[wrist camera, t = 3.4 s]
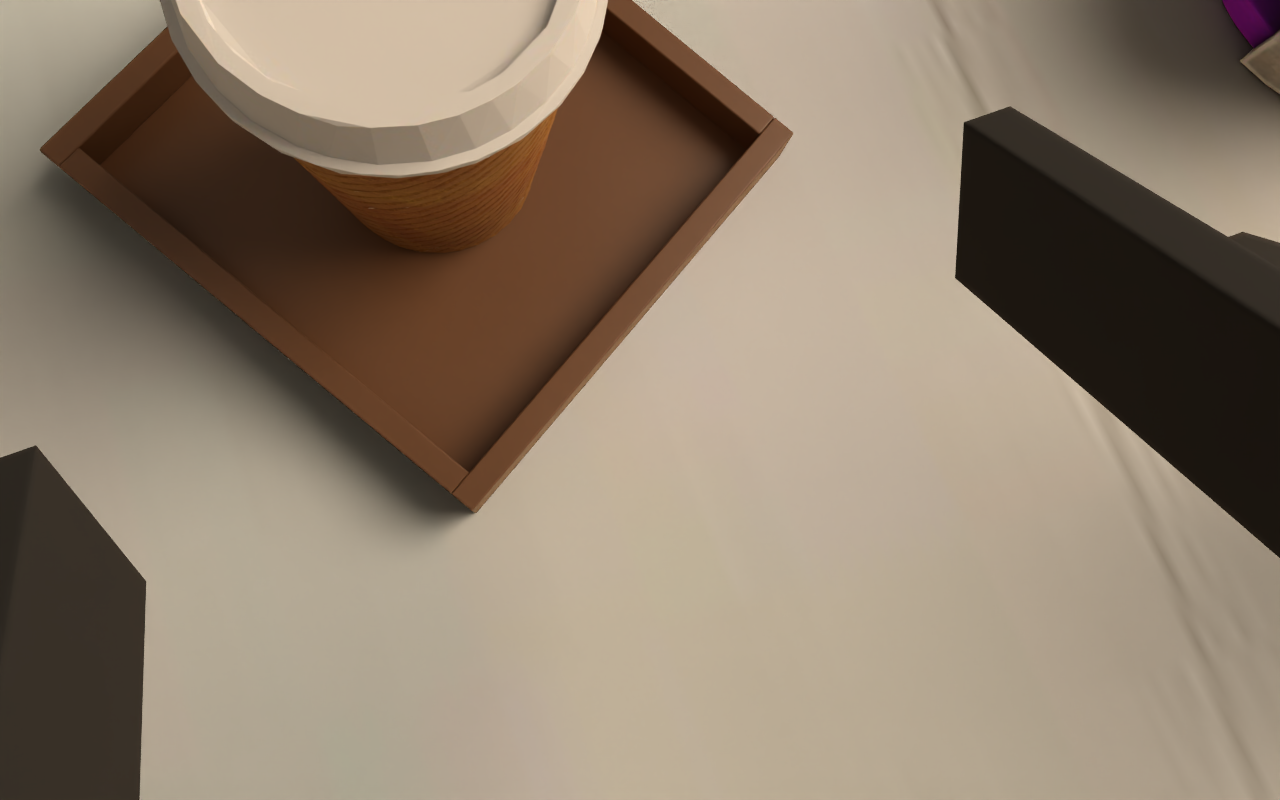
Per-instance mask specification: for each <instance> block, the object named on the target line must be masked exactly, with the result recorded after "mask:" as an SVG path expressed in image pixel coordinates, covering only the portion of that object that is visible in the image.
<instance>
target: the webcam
mask: <svg viewBox="0 0 1280 800" xmlns="http://www.w3.org/2000/svg"><path fill="white" fill-rule="evenodd" d="M1222 1H1223V3H1224V6H1225V8H1226V9H1227V11H1228V13H1229V15H1230V16H1231V18H1232V20H1233V22H1234V23H1235V25H1236V26H1237V27H1238V29H1239V30H1240V31H1241V33H1242V34H1243V35H1244V37H1245V38H1246V39H1247V41H1248V42H1249V43H1250V45H1251V46H1252V47H1253V48H1254V49H1253V50H1251V51H1250V52H1249V53H1248V54H1247V55H1246V56H1245V57H1244V58H1243V59H1241V60H1240V62H1241V63H1242V64H1244V65H1245V66H1246V67H1247V68H1248V69H1249V70H1250V71H1251V72H1252V73H1254V74H1255V75H1256V76H1257V77H1258V78H1259V79H1260V80H1261V81H1262V82H1264V83H1265V84H1266V85H1267V86H1269V87H1270V88H1272V89H1273V90H1275V91H1276V92H1278V93H1279V94H1280V0H1222Z"/></svg>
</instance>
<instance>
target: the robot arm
mask: <svg viewBox="0 0 1280 800" xmlns="http://www.w3.org/2000/svg"><path fill="white" fill-rule="evenodd" d="M955 278H956V279H957V280H958V281H959V282H961V283H962V284H963V285H964V286H965V287H966V288H968V289H969V290H970V291H971V292H972V293H973V294H974V295H976V296H977V297H978V298H979V299H980V300H981V301H983V302H984V303H985V304H986V305H987V306H988V307H990V308H991V309H992V310H993V311H994V312H995V313H996V314H998V315H999V316H1000V317H1001V318H1002V319H1003V320H1005V321H1006V322H1007V323H1008V324H1009V325H1010V326H1012V327H1013V328H1014V329H1015V330H1016V331H1017V332H1019V333H1020V334H1021V335H1022V336H1023V337H1024V338H1025V339H1027V340H1028V341H1029V342H1030V343H1031V344H1032V345H1034V346H1035V347H1036V348H1037V349H1038V350H1039V351H1041V352H1042V353H1043V354H1044V355H1045V356H1046V357H1047V358H1049V359H1050V360H1051V361H1052V362H1053V363H1054V364H1056V365H1057V366H1058V367H1059V368H1060V369H1061V370H1063V371H1064V372H1065V373H1066V374H1067V375H1068V376H1069V377H1071V378H1072V379H1073V380H1074V381H1075V382H1076V383H1078V384H1079V385H1080V386H1081V387H1082V388H1083V389H1085V390H1086V391H1087V392H1088V393H1089V394H1090V395H1092V396H1093V397H1094V398H1095V399H1096V400H1097V401H1098V402H1100V403H1101V404H1102V405H1103V406H1104V407H1105V408H1107V409H1108V410H1109V411H1110V412H1111V413H1112V414H1114V415H1115V416H1116V417H1117V418H1118V419H1119V420H1120V421H1122V422H1123V423H1124V424H1125V425H1126V426H1127V427H1129V428H1130V429H1131V430H1132V431H1133V432H1134V433H1136V434H1137V435H1138V436H1139V437H1140V438H1141V439H1143V440H1144V441H1145V442H1146V443H1147V444H1148V445H1149V446H1151V447H1152V448H1153V449H1154V450H1155V451H1156V452H1158V453H1159V454H1160V455H1161V456H1162V457H1163V458H1165V459H1166V460H1167V461H1168V462H1169V463H1170V464H1171V465H1173V466H1174V467H1175V468H1176V469H1177V470H1178V471H1180V472H1181V473H1182V474H1183V475H1184V476H1185V477H1187V478H1188V479H1189V480H1190V481H1191V482H1192V483H1193V484H1195V485H1196V486H1197V487H1198V488H1199V489H1200V490H1202V491H1203V492H1204V493H1205V494H1206V495H1207V496H1209V497H1210V498H1211V499H1212V500H1213V501H1214V502H1216V503H1217V504H1218V505H1219V506H1220V507H1221V508H1222V509H1224V510H1225V511H1226V512H1227V513H1228V514H1229V515H1231V516H1232V517H1233V518H1234V519H1235V520H1236V521H1238V522H1239V523H1240V524H1241V525H1242V526H1243V527H1244V528H1246V529H1247V530H1248V531H1249V532H1250V533H1251V534H1253V535H1254V536H1255V537H1256V538H1257V539H1258V540H1260V541H1261V542H1262V543H1263V544H1264V545H1265V546H1266V547H1268V548H1269V549H1270V550H1271V551H1272V552H1273V553H1275V554H1276V555H1277V556H1278V557H1279V558H1280V243H1278V242H1275V241H1271V240H1268V239H1265V238H1261V237H1258V236H1255V235H1251V234H1248V233H1245V232H1241V233H1238V234H1235V235H1233V236H1230V237H1227V236H1225V235H1224V234H1222V233H1220V232H1219V231H1217V230H1215V229H1214V228H1212V227H1210V226H1209V225H1207V224H1205V223H1204V222H1202V221H1200V220H1199V219H1197V218H1195V217H1194V216H1192V215H1190V214H1189V213H1187V212H1185V211H1184V210H1182V209H1180V208H1179V207H1177V206H1175V205H1174V204H1172V203H1170V202H1169V201H1167V200H1165V199H1164V198H1162V197H1160V196H1159V195H1157V194H1155V193H1154V192H1152V191H1150V190H1149V189H1147V188H1145V187H1144V186H1142V185H1140V184H1139V183H1137V182H1135V181H1134V180H1132V179H1130V178H1129V177H1127V176H1125V175H1124V174H1122V173H1120V172H1119V171H1117V170H1115V169H1114V168H1112V167H1110V166H1109V165H1107V164H1105V163H1104V162H1102V161H1100V160H1099V159H1097V158H1095V157H1094V156H1092V155H1090V154H1089V153H1087V152H1085V151H1084V150H1082V149H1080V148H1079V147H1077V146H1075V145H1074V144H1072V143H1070V142H1069V141H1067V140H1065V139H1064V138H1062V137H1060V136H1059V135H1057V134H1055V133H1054V132H1052V131H1050V130H1049V129H1047V128H1045V127H1044V126H1042V125H1040V124H1039V123H1037V122H1035V121H1034V120H1032V119H1030V118H1029V117H1027V116H1025V115H1024V114H1022V113H1020V112H1019V111H1017V110H1015V109H1014V108H1012V107H1007V108H1004V109H1001V110H998V111H995V112H993V113H990V114H987V115H984V116H981V117H978V118H975V119H972V120H970V121H967V122H964V132H963V149H962V167H961V185H960V203H959V220H958V238H957V256H956V274H955ZM145 601H146V581H145V579H144V578H143V577H142V576H141V575H140V573H139V572H138V571H137V570H136V568H135V567H134V566H133V565H132V563H131V562H130V561H129V560H128V558H127V557H126V556H125V555H124V554H123V552H122V551H121V550H120V549H119V547H118V546H117V545H116V544H115V542H114V541H113V540H112V539H111V537H110V536H109V535H108V534H107V533H106V531H105V530H104V529H103V528H102V526H101V525H100V524H99V523H98V521H97V520H96V519H95V518H94V516H93V515H92V514H91V513H90V512H89V510H88V509H87V508H86V507H85V505H84V504H83V503H82V502H81V500H80V499H79V498H78V497H77V495H76V494H75V493H74V492H73V490H72V489H71V488H70V487H69V486H68V484H67V483H66V482H65V481H64V479H63V478H62V477H61V476H60V474H59V473H58V472H57V471H56V469H55V468H54V467H53V466H52V465H51V463H50V462H49V461H48V460H47V458H46V457H45V456H44V455H43V453H42V452H41V451H40V450H39V448H38V447H37V446H33V447H30V448H27V449H24V450H22V451H19V452H16V453H13V454H10V455H7V456H4V457H1V458H0V800H139V795H140V763H141V730H142V698H143V666H144V633H145Z"/></svg>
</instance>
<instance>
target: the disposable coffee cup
mask: <svg viewBox="0 0 1280 800" xmlns="http://www.w3.org/2000/svg"><path fill="white" fill-rule="evenodd" d="M160 2H161V6H162V9H163V12H164V16H165V19H166V23H167V26H168V29H169V33H170V36H171V40H172V41H173V43H174V45H175V46H176V48H177V50H178V52H179V53H180V55H181V57H182V58H183V60H184V62H185V64H186V65H187V67H188V69H189V71H190V72H191V74H192V76H193V77H194V79H195V81H196V82H197V83H198V84H199V86H200V87H201V88H202V89H203V90H204V91H205V92H206V93H207V94H208V95H209V96H210V97H211V99H212V100H213V101H214V102H215V103H216V104H217V105H218V106H219V107H220V108H221V109H222V110H223V111H224V112H225V114H226V115H227V116H228V117H229V118H230V119H231V120H232V121H234V122H235V123H236V124H238V125H239V126H241V127H242V128H244V129H245V130H247V131H249V132H250V133H252V134H253V135H255V136H256V137H258V138H259V139H261V140H262V141H264V142H265V143H267V144H268V145H270V146H271V147H273V148H275V149H276V150H278V151H279V152H281V153H283V154H286V155H289V156H292V157H293V158H294V159H295V160H297V161H298V162H299V163H300V164H301V165H302V166H303V167H304V168H305V169H306V170H307V171H308V172H309V173H310V174H311V175H312V176H313V177H314V178H315V179H316V180H317V181H318V182H320V183H321V184H322V185H323V186H324V187H325V188H326V189H327V190H328V191H329V192H330V193H331V194H332V195H333V196H334V197H335V198H336V199H337V200H338V201H339V202H340V203H341V204H343V205H344V206H345V207H346V208H347V209H348V210H349V211H350V212H351V213H352V214H353V215H354V216H355V217H356V218H357V219H358V220H359V221H360V222H361V223H362V224H363V225H365V226H366V227H367V228H369V229H370V230H371V231H373V232H374V233H375V234H377V235H378V236H380V237H381V238H383V239H384V240H386V241H389V242H391V243H393V244H395V245H397V246H399V247H402V248H406V249H410V250H414V251H418V252H435V253H446V252H454V251H460V250H463V249H466V248H469V247H472V246H475V245H478V244H480V243H482V242H484V241H486V240H487V239H489V238H491V237H493V236H495V235H496V234H497V233H498V232H500V231H501V230H502V229H503V228H504V227H505V226H507V225H508V224H509V223H510V222H511V221H512V219H513V218H514V217H515V215H516V214H517V213H518V212H519V210H520V209H521V208H522V206H523V204H524V201H525V199H526V197H527V195H528V193H529V191H530V188H531V184H532V181H533V178H534V175H535V172H536V170H537V167H538V164H539V161H540V158H541V156H542V153H543V151H544V149H545V146H546V142H547V138H548V135H549V133H550V130H551V127H552V124H553V122H554V119H555V116H556V112H557V109H558V107H559V106H560V105H561V104H562V103H563V101H564V100H565V99H566V97H567V96H568V94H569V93H570V92H571V90H572V89H573V88H574V86H575V85H576V83H577V82H578V81H579V79H580V78H581V76H582V75H583V74H584V72H585V69H586V67H587V65H588V63H589V61H590V58H591V56H592V54H593V52H594V50H595V47H596V45H597V43H598V41H599V38H600V36H601V32H602V29H603V24H604V19H605V14H606V8H607V3H608V0H160Z"/></svg>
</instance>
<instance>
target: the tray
mask: <svg viewBox="0 0 1280 800" xmlns="http://www.w3.org/2000/svg"><path fill="white" fill-rule="evenodd" d="M773 118H774V117H773V116H772V115H771V114H769V113H768V112H767V111H766V110H765V109H763V108H762V107H761V106H760V105H759V104H757V103H756V102H755V101H754V100H752V99H751V98H750V97H749V96H748V95H746V94H745V93H744V92H743V91H741V90H740V89H739V88H738V87H737V86H735V85H734V84H733V83H732V82H730V81H729V80H728V79H727V78H726V77H724V76H723V75H722V74H721V73H720V72H718V71H717V70H716V69H715V68H713V67H712V66H711V65H710V64H709V63H707V62H706V61H705V60H704V59H702V58H701V57H700V56H699V55H698V54H696V53H695V52H694V51H693V50H692V49H690V48H689V47H688V46H687V45H685V44H684V43H683V42H682V41H681V40H679V39H678V38H677V37H676V36H674V35H673V34H672V33H671V32H670V31H668V30H667V29H666V28H665V27H664V26H662V25H661V24H660V23H659V22H657V21H656V20H655V19H654V18H653V17H651V16H650V15H649V14H648V13H646V12H645V11H644V10H643V9H642V8H640V7H639V6H638V5H637V4H636V3H634V2H633V1H632V0H608V3H607V8H606V14H605V19H604V24H603V29H602V32H601V36H600V38H599V41H598V43H597V45H596V47H595V50H594V52H593V54H592V56H591V58H590V61H589V63H588V65H587V67H586V69H585V72H584V74H583V75H582V76H581V78H580V79H579V81H578V82H577V83H576V85H575V86H574V88H573V89H572V90H571V92H570V93H569V94H568V96H567V97H566V99H565V100H564V101H563V103H562V104H561V105H560V106H559V107H558V109H557V112H556V116H555V119H554V122H553V124H552V127H551V130H550V133H549V135H548V138H547V142H546V146H545V149H544V151H543V153H542V156H541V158H540V161H539V164H538V167H537V170H536V172H535V175H534V178H533V181H532V184H531V188H530V191H529V193H528V195H527V197H526V199H525V201H524V204H523V206H522V208H521V209H520V210H519V212H518V213H517V214H516V215H515V217H514V218H513V219H512V221H511V222H510V223H509V224H508V225H507V226H505V227H504V228H503V229H502V230H501V231H500V232H498V233H497V234H496V235H495V236H493V237H491V238H489V239H487V240H486V241H484V242H482V243H480V244H478V245H475V246H472V247H469V248H466V249H463V250H460V251H454V252H446V253H435V252H418V251H414V250H410V249H406V248H402V247H399V246H397V245H395V244H393V243H391V242H389V241H386V240H384V239H383V238H381V237H380V236H378V235H377V234H375V233H374V232H373V231H371V230H370V229H369V228H367V227H366V226H365V225H363V224H362V223H361V222H360V221H359V220H358V219H357V218H356V217H355V216H354V215H353V214H352V213H351V212H350V211H349V210H348V209H347V208H346V207H345V206H344V205H343V204H341V203H340V202H339V201H338V200H337V199H336V198H335V197H334V196H333V195H332V194H331V193H330V192H329V191H328V190H327V189H326V188H325V187H324V186H323V185H322V184H321V183H320V182H318V181H317V180H316V179H315V178H314V177H313V176H312V175H311V174H310V173H309V172H308V171H307V170H306V169H305V168H304V167H303V166H302V165H301V164H300V163H299V162H298V161H297V160H295V159H294V158H293V157H292V156H289V155H286V154H283V153H281V152H279V151H278V150H276V149H275V148H273V147H271V146H270V145H268V144H267V143H265V142H264V141H262V140H261V139H259V138H258V137H256V136H255V135H253V134H252V133H250V132H249V131H247V130H245V129H244V128H242V127H241V126H239V125H238V124H236V123H235V122H234V121H232V120H231V119H230V118H229V117H228V116H227V115H226V114H225V112H224V111H223V110H222V109H221V108H220V107H219V106H218V105H217V104H216V103H215V102H214V101H213V100H212V99H211V97H210V96H209V95H208V94H207V93H206V92H205V91H204V90H203V89H202V88H201V87H200V86H199V84H198V83H197V82H196V81H195V79H194V77H193V76H192V74H191V72H190V71H189V69H188V67H187V65H186V64H185V62H184V60H183V58H182V57H181V55H180V53H179V52H178V50H177V48H176V46H175V45H174V43H173V41H172V40H171V36H170V33H169V29H168V27H166V28H165V29H164V30H163V31H162V32H161V33H160V34H159V35H158V36H157V37H156V38H155V39H154V40H153V41H152V42H151V43H150V44H149V45H148V46H147V47H146V48H145V49H143V50H142V51H141V52H140V53H139V54H138V55H137V56H136V57H135V58H134V59H133V60H132V61H131V62H130V63H129V64H128V65H127V66H126V67H125V68H124V69H123V70H122V71H120V72H119V73H118V74H117V75H116V76H115V77H114V78H113V79H112V80H111V81H110V82H109V83H108V84H107V85H106V86H105V87H104V88H103V89H102V90H101V91H100V92H99V93H97V94H96V95H95V96H94V97H93V98H92V99H91V100H90V101H89V102H88V103H87V104H86V105H85V106H84V107H83V108H82V109H81V110H80V111H79V112H78V113H77V114H76V115H74V116H73V117H72V118H71V119H70V120H69V121H68V122H67V123H66V124H65V125H64V126H63V127H62V128H61V129H60V130H59V131H58V132H57V133H56V134H55V135H54V136H53V137H51V138H50V139H49V140H48V141H47V142H46V143H45V144H44V145H43V146H42V147H41V148H40V151H41V153H43V154H44V155H45V156H46V157H47V158H49V159H50V160H51V161H52V162H53V163H55V164H56V165H57V166H58V167H60V168H61V169H62V170H63V171H64V172H65V173H67V174H68V175H69V176H70V177H71V178H73V179H74V180H75V181H76V182H77V183H79V184H80V185H81V186H82V187H83V188H85V189H86V190H87V191H88V192H89V193H91V194H92V195H93V196H94V197H95V198H97V199H98V200H99V201H100V202H101V203H103V204H104V205H105V206H106V207H107V208H109V209H110V210H111V211H112V212H113V213H115V214H116V215H117V216H118V217H119V218H121V219H122V220H123V221H124V222H125V223H127V224H128V225H129V226H130V227H131V228H133V229H134V230H135V231H136V232H137V233H139V234H140V235H141V236H142V237H143V238H145V239H146V240H147V241H148V242H149V243H151V244H152V245H153V246H154V247H155V248H157V249H158V250H159V251H160V252H161V253H163V254H164V255H165V256H166V257H167V258H169V259H170V260H171V261H172V262H173V263H175V264H176V265H177V266H178V267H179V268H181V269H182V270H183V271H184V272H185V273H187V274H188V275H189V276H190V277H191V278H193V279H194V280H195V281H196V282H197V283H199V284H200V285H201V286H202V287H203V288H205V289H206V290H207V291H208V292H209V293H211V294H212V295H213V296H214V297H215V298H217V299H218V300H219V301H220V302H221V303H223V304H224V305H225V306H226V307H227V308H229V309H230V310H231V311H232V312H233V313H235V314H236V315H237V316H238V317H240V318H241V319H242V320H243V321H244V322H246V323H247V324H248V325H249V326H250V327H252V328H253V329H254V330H255V331H256V332H258V333H259V334H260V335H261V336H262V337H264V338H265V339H266V340H267V341H268V342H270V343H271V344H272V345H273V346H274V347H276V348H277V349H278V350H279V351H280V352H282V353H283V354H284V355H285V356H286V357H288V358H289V359H290V360H291V361H292V362H294V363H295V364H296V365H297V366H298V367H300V368H301V369H302V370H303V371H304V372H306V373H307V374H308V375H309V376H310V377H312V378H313V379H314V380H315V381H316V382H318V383H319V384H320V385H321V386H322V387H324V388H325V389H326V390H327V391H328V392H330V393H331V394H332V395H333V396H334V397H336V398H337V399H338V400H339V401H340V402H342V403H343V404H344V405H345V406H346V407H348V408H349V409H350V410H351V411H352V412H354V413H355V414H356V415H357V416H358V417H360V418H361V419H362V420H363V421H364V422H366V423H367V424H368V425H369V426H370V427H372V428H373V429H374V430H375V431H376V432H378V433H379V434H380V435H381V436H382V437H384V438H385V439H386V440H387V441H388V442H390V443H391V444H392V445H393V446H394V447H396V448H397V449H398V450H399V451H400V452H402V453H403V454H404V455H405V456H406V457H408V458H409V459H410V460H411V461H412V462H414V463H415V464H416V465H417V466H418V467H420V468H421V469H422V470H423V471H424V472H426V473H427V474H428V475H429V476H430V477H432V478H433V479H434V480H435V481H436V482H438V483H439V484H440V485H441V486H442V487H444V488H445V489H446V490H447V491H448V492H450V493H451V494H452V495H453V496H454V497H456V498H457V499H458V500H459V501H460V502H462V503H463V504H464V505H465V506H466V507H468V508H469V509H470V510H471V511H473V512H474V513H477V511H478V510H479V509H480V508H481V507H482V506H483V504H484V503H485V502H486V501H487V500H488V499H489V497H490V496H491V495H492V494H493V493H494V491H495V490H496V489H497V488H498V487H499V486H500V484H501V483H502V482H503V481H504V480H505V478H506V477H507V476H508V475H509V474H510V473H511V471H512V470H513V469H514V468H515V467H516V466H517V464H518V463H519V462H520V461H521V460H522V458H523V457H524V456H525V455H526V454H527V453H528V451H529V450H530V449H531V448H532V447H533V446H534V444H535V443H536V442H537V441H538V440H539V438H540V437H541V436H542V435H543V434H544V433H545V431H546V430H547V429H548V428H549V427H550V426H551V424H552V423H553V422H554V421H555V420H556V418H557V417H558V416H559V415H560V414H561V413H562V411H563V410H564V409H565V408H566V407H567V406H568V404H569V403H570V402H571V401H572V400H573V398H574V397H575V396H576V395H577V394H578V393H579V391H580V390H581V389H582V388H583V387H584V386H585V384H586V383H587V382H588V381H589V380H590V378H591V377H592V376H593V375H594V374H595V373H596V371H597V370H598V369H599V368H600V367H601V366H602V364H603V363H604V362H605V361H606V360H607V358H608V357H609V356H610V355H611V354H612V353H613V351H614V350H615V349H616V348H617V347H618V345H619V344H620V343H621V342H622V341H623V340H624V338H625V337H626V336H627V335H628V334H629V333H630V331H631V330H632V329H633V328H634V327H635V325H636V324H637V323H638V322H639V321H640V320H641V318H642V317H643V316H644V315H645V314H646V313H647V311H648V310H649V309H650V308H651V307H652V305H653V304H654V303H655V302H656V301H657V300H658V298H659V297H660V296H661V295H662V294H663V293H664V291H665V290H666V289H667V288H668V287H669V285H670V284H671V283H672V282H673V281H674V280H675V278H676V277H677V276H678V275H679V274H680V273H681V271H682V270H683V269H684V268H685V267H686V265H687V264H688V263H689V262H690V261H691V260H692V258H693V257H694V256H695V255H696V254H697V253H698V251H699V250H700V249H701V248H702V247H703V245H704V244H705V243H706V242H707V241H708V240H709V238H710V237H711V236H712V235H713V234H714V233H715V231H716V230H717V229H718V228H719V227H720V225H721V224H722V223H723V222H724V221H725V220H726V218H727V217H728V216H729V215H730V214H731V212H732V211H733V210H734V209H735V208H736V207H737V205H738V204H739V203H740V202H741V201H742V200H743V198H744V197H745V196H746V195H747V194H748V192H749V191H750V190H751V189H752V188H753V187H754V185H755V184H756V183H757V182H758V181H759V180H760V178H761V177H762V176H763V175H764V174H765V172H766V171H767V170H768V169H769V168H770V167H771V165H772V164H773V163H774V162H775V161H776V160H777V158H778V157H779V156H780V154H781V152H782V151H783V149H784V148H785V146H786V145H787V143H788V141H789V140H790V138H791V137H792V135H793V132H792V131H790V130H789V129H788V128H787V127H786V126H784V125H783V124H782V123H781V122H779V121H778V120H777V119H776V118H774V119H773Z"/></svg>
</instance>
